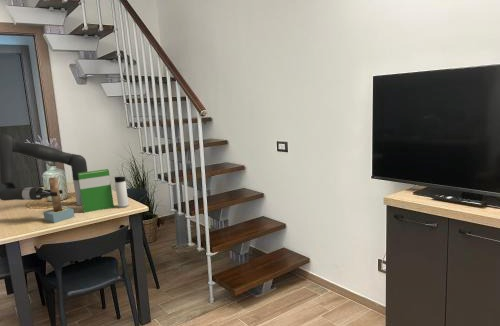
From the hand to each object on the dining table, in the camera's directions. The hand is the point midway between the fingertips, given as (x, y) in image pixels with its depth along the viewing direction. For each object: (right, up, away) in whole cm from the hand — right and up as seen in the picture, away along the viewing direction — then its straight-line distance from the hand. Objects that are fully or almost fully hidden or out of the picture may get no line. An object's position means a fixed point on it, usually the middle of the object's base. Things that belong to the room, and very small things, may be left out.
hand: (59, 193), depth 219 cm
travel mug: (+31, -10, +19) cm, 38 cm away
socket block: (-2, -15, +3) cm, 16 cm away
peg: (-2, -11, +2) cm, 11 cm away
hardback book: (+16, -12, +19) cm, 27 cm away
